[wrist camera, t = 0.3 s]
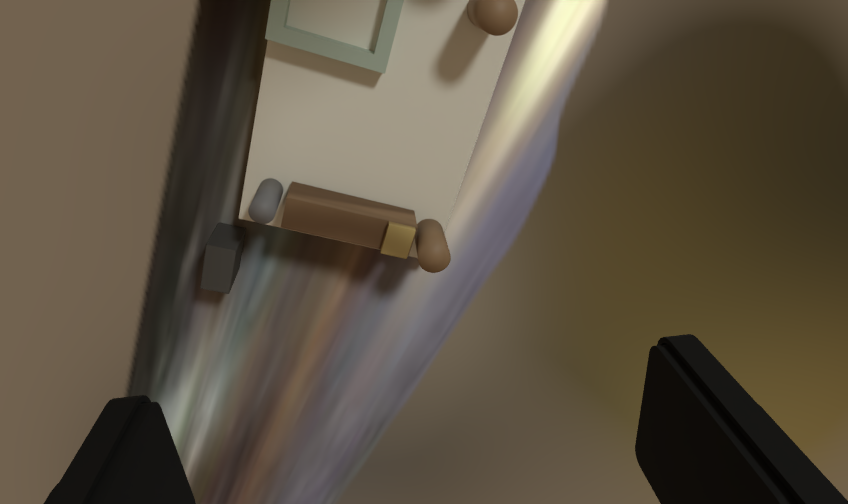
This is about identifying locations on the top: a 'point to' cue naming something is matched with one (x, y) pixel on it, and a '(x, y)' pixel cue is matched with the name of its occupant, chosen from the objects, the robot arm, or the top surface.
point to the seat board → (369, 111)
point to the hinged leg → (350, 219)
